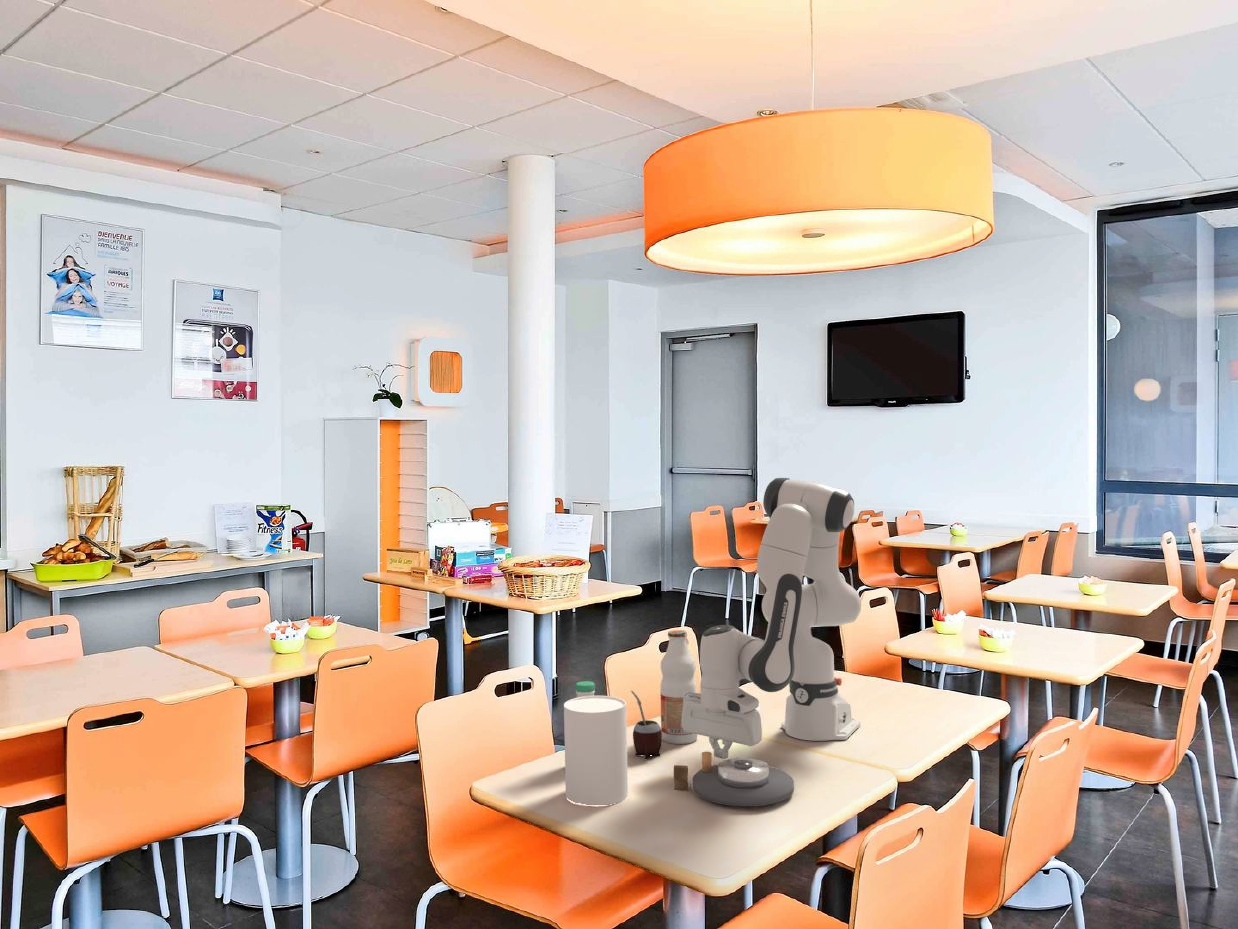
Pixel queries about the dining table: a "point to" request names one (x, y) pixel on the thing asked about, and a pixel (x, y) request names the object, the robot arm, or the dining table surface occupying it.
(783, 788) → the turntable
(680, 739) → the fruit juice
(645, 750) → the mate gourd
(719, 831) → the dining table surface
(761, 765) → the cover
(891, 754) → the dining table surface
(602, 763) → the canister
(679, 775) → the brown wooden block
